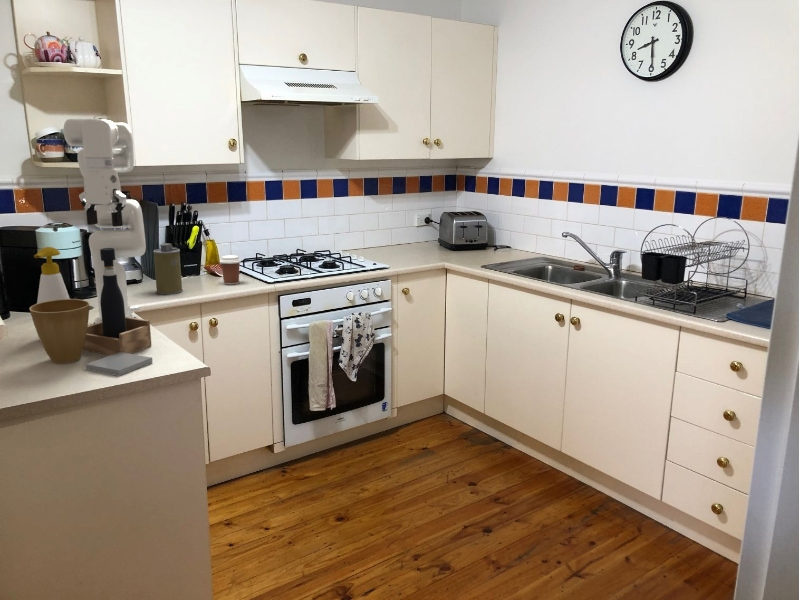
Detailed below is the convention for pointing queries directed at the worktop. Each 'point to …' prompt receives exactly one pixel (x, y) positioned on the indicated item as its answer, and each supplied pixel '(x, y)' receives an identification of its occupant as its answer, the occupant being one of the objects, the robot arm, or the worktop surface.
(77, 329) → the plant pot
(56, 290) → the soap bottle
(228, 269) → the coffee cup
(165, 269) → the canister
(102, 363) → the tile
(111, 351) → the wooden box
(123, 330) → the black water bottle
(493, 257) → the worktop surface
